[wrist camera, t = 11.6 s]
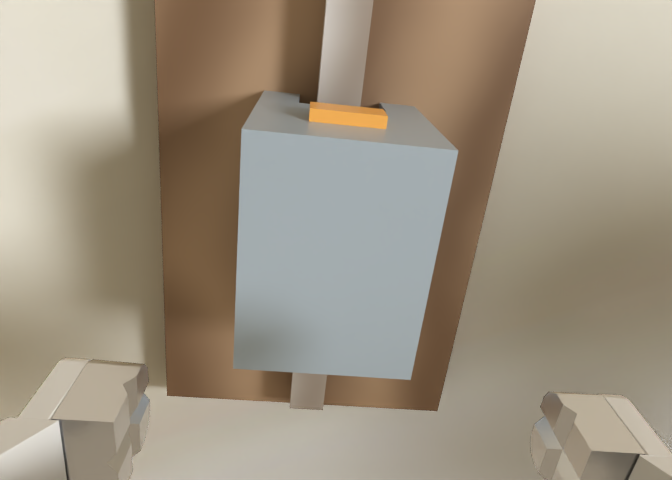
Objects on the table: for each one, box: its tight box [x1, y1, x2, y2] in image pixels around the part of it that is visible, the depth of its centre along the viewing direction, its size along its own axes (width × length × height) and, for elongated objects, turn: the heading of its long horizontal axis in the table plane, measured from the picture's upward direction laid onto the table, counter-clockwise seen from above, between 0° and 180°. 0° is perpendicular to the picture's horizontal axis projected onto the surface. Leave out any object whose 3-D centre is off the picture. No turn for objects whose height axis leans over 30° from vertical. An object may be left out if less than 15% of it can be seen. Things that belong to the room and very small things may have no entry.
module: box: [233, 90, 458, 380], centre depth 19 cm, size 6×8×7 cm
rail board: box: [155, 0, 536, 411], centre depth 22 cm, size 14×23×3 cm, turn 174°
